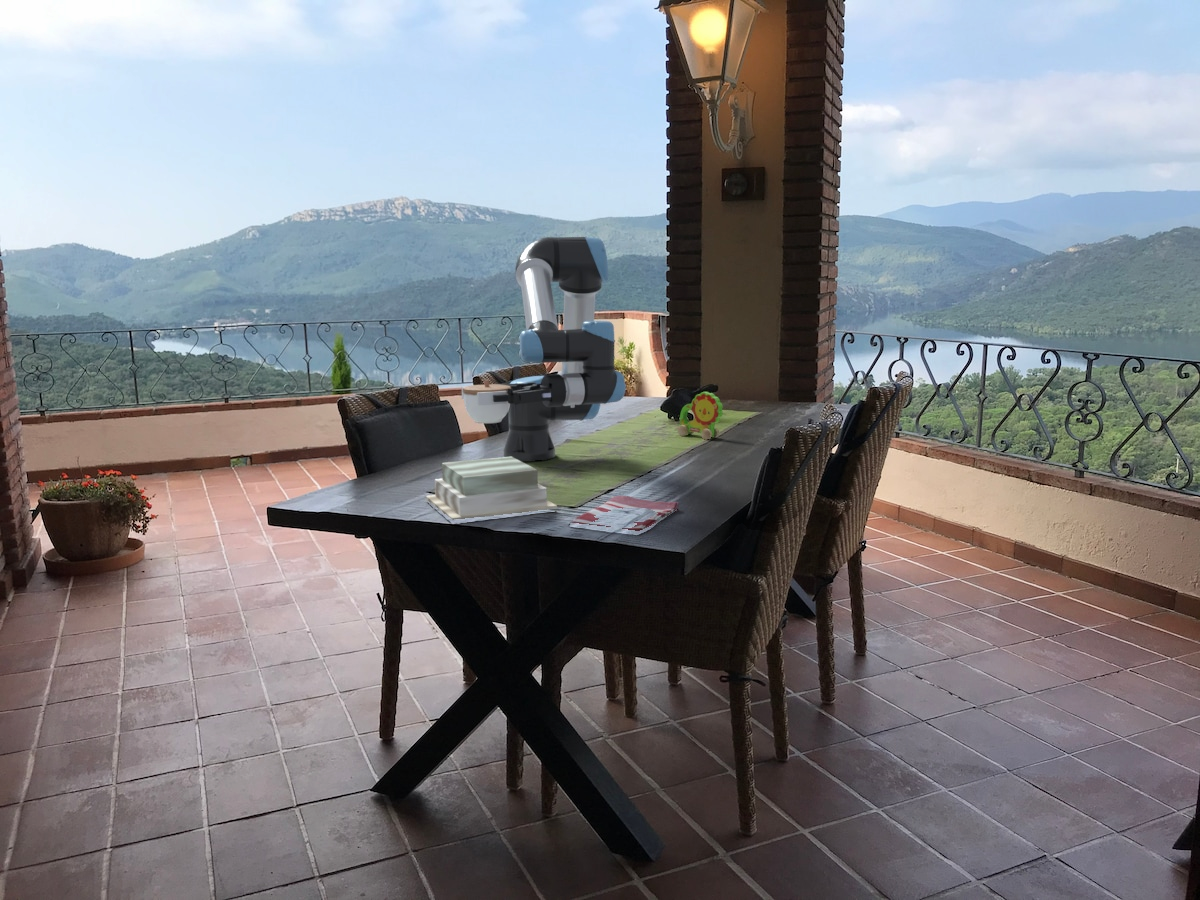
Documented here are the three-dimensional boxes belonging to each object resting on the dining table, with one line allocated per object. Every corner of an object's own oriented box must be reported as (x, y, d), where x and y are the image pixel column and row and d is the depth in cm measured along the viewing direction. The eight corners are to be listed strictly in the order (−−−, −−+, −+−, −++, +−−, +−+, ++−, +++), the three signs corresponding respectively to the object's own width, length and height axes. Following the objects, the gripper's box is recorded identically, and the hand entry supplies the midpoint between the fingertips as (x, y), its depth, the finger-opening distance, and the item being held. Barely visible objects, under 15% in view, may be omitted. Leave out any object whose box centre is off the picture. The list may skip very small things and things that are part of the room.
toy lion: (676, 435, 292) (676, 390, 289) (686, 433, 296) (687, 388, 293) (715, 441, 282) (716, 394, 279) (725, 439, 285) (726, 392, 283)
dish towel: (680, 512, 199) (680, 500, 198) (640, 539, 178) (640, 526, 178) (612, 504, 206) (612, 493, 205) (566, 529, 185) (566, 517, 185)
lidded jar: (473, 426, 191) (471, 383, 189) (457, 420, 200) (456, 378, 198) (519, 422, 195) (518, 380, 194) (501, 416, 205) (500, 376, 203)
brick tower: (426, 501, 206) (424, 462, 204) (522, 491, 216) (521, 453, 215) (452, 525, 187) (451, 481, 185) (556, 512, 197) (556, 470, 195)
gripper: (582, 412, 195) (487, 420, 185) (542, 400, 215) (455, 405, 206) (581, 379, 193) (486, 384, 184) (542, 369, 214) (454, 373, 204)
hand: (469, 395), depth 195 cm, fingers closed on lidded jar, 11 cm apart
